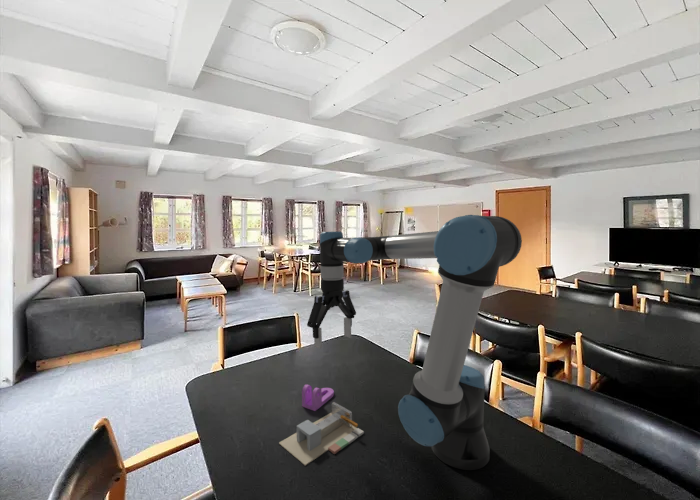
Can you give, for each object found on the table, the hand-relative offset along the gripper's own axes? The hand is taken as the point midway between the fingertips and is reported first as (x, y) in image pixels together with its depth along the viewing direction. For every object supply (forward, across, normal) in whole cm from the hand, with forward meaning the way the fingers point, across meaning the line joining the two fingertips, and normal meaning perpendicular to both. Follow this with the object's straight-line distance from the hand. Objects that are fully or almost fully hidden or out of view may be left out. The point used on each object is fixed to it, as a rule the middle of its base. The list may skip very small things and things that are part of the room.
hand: (333, 341), depth 106 cm
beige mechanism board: (+23, +13, +8) cm, 28 cm away
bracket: (+23, 0, -8) cm, 24 cm away
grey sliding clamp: (+23, +10, +9) cm, 27 cm away
